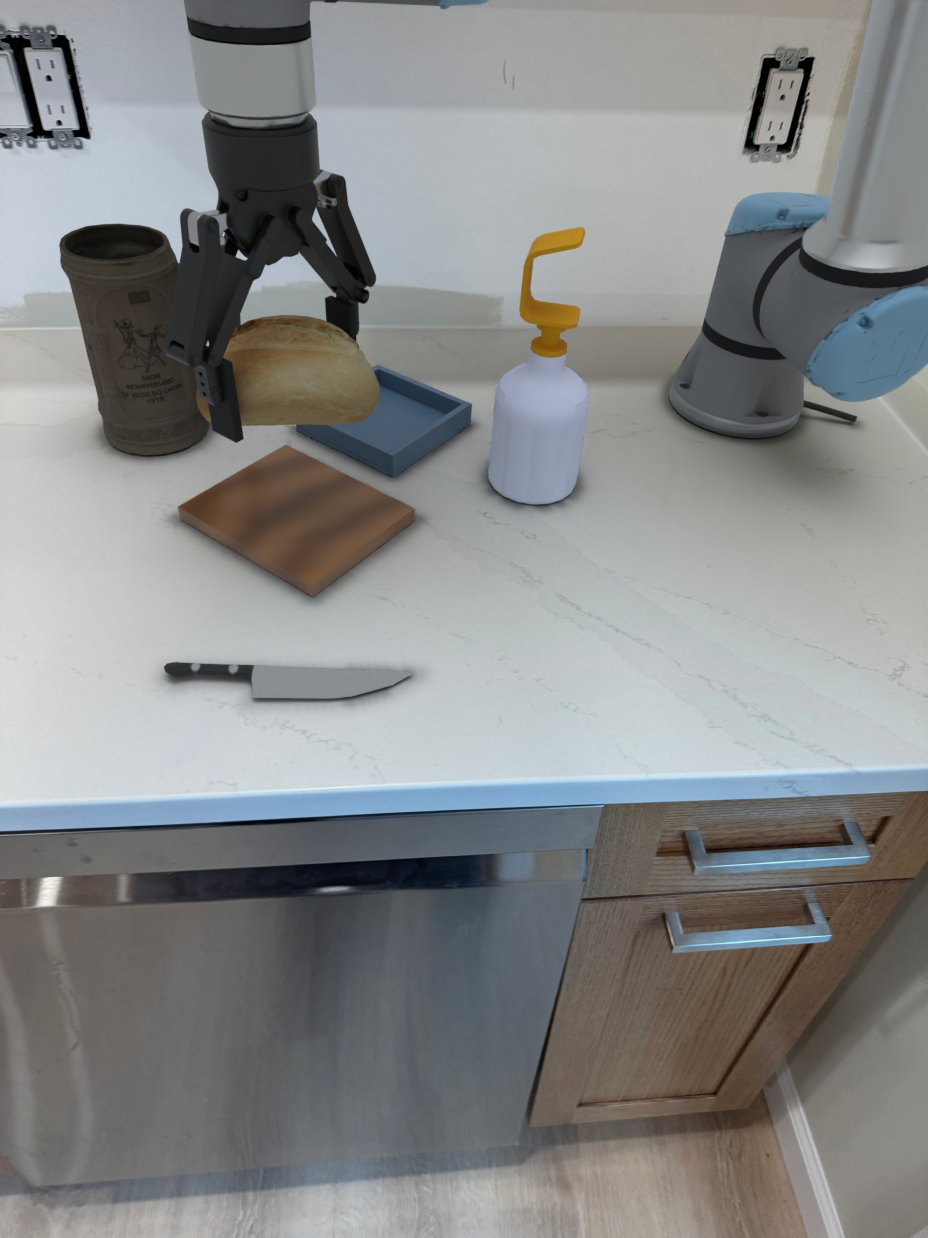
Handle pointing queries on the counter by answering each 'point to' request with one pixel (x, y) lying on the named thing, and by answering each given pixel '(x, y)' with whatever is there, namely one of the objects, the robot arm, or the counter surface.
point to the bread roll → (298, 373)
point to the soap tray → (397, 424)
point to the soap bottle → (540, 399)
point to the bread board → (297, 518)
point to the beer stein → (132, 336)
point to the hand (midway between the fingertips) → (289, 402)
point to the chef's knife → (295, 679)
